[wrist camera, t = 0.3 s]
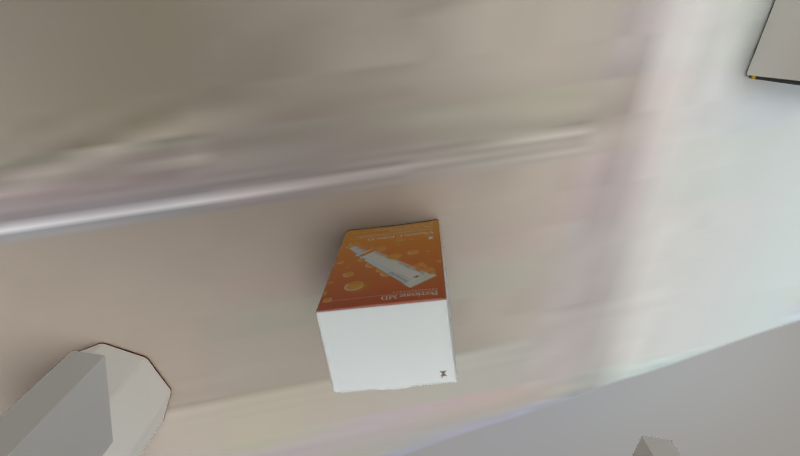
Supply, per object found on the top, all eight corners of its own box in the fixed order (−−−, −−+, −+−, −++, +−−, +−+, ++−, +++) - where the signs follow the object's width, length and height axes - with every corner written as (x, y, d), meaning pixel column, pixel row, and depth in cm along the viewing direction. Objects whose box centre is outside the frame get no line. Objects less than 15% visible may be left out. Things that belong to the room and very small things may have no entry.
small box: (439, 217, 39) (450, 298, 27) (446, 284, 41) (460, 385, 29) (343, 228, 40) (312, 312, 27) (356, 293, 42) (333, 397, 30)
